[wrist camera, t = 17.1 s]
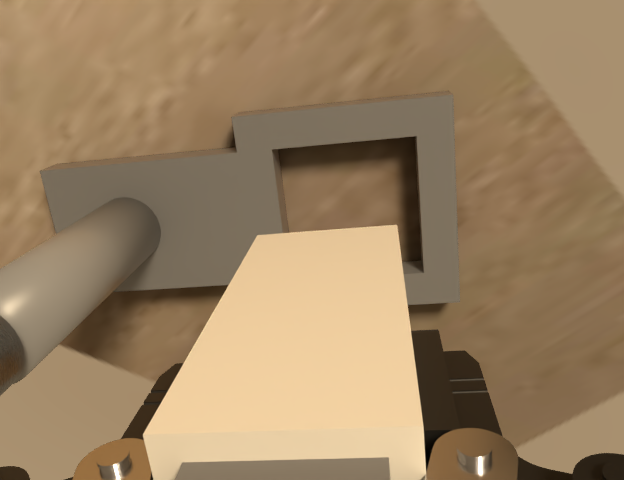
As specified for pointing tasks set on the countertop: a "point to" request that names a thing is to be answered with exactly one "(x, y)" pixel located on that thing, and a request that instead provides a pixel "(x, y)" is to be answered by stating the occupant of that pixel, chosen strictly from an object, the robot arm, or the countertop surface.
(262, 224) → the dock
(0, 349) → the long flat grey beam
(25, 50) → the countertop surface
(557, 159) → the countertop surface
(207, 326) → the plug
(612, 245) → the countertop surface
